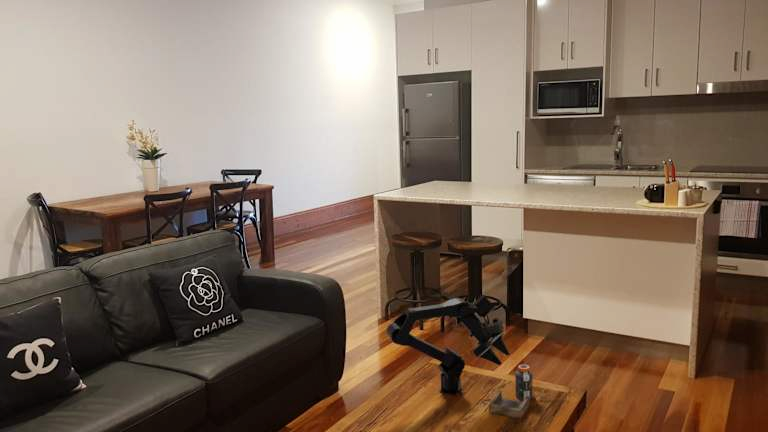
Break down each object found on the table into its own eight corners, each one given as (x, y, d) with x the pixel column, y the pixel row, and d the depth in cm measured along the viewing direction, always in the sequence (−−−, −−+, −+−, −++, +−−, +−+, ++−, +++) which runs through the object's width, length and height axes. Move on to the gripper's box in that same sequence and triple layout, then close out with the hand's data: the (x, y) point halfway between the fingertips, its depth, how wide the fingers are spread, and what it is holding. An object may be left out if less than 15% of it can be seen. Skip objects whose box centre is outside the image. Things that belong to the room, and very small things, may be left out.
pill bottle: (532, 400, 210) (532, 370, 208) (515, 399, 211) (515, 369, 209) (532, 392, 216) (532, 363, 214) (515, 391, 217) (515, 362, 215)
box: (488, 412, 203) (488, 404, 202) (499, 398, 212) (498, 390, 212) (520, 419, 197) (520, 410, 197) (529, 404, 207) (529, 396, 206)
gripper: (481, 321, 206) (512, 356, 203) (497, 305, 222) (527, 337, 219) (460, 340, 211) (490, 374, 208) (478, 323, 228) (506, 354, 224)
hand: (504, 359), depth 215 cm, fingers open, 9 cm apart
